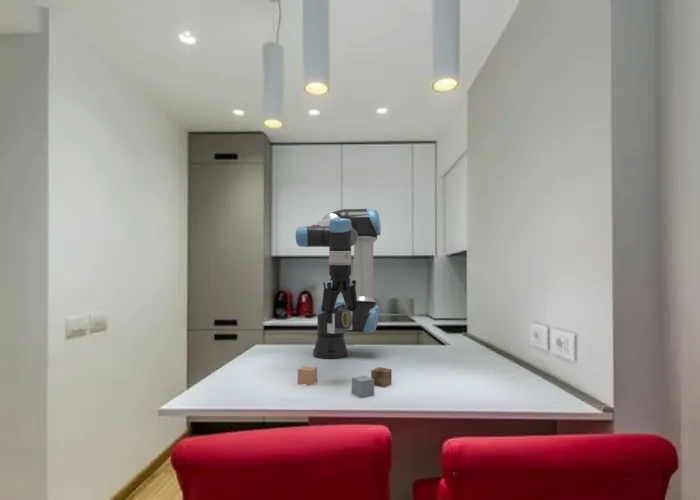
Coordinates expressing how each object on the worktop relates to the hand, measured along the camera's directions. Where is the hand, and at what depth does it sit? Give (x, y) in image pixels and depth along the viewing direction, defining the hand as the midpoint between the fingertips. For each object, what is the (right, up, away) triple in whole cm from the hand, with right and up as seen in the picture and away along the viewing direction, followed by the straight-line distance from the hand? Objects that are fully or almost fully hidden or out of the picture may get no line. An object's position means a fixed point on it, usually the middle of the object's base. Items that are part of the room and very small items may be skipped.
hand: (339, 331), depth 152 cm
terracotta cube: (-11, -17, -1) cm, 20 cm away
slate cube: (+7, -17, -14) cm, 23 cm away
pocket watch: (0, -1, 0) cm, 1 cm away
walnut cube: (+14, -18, -2) cm, 22 cm away
